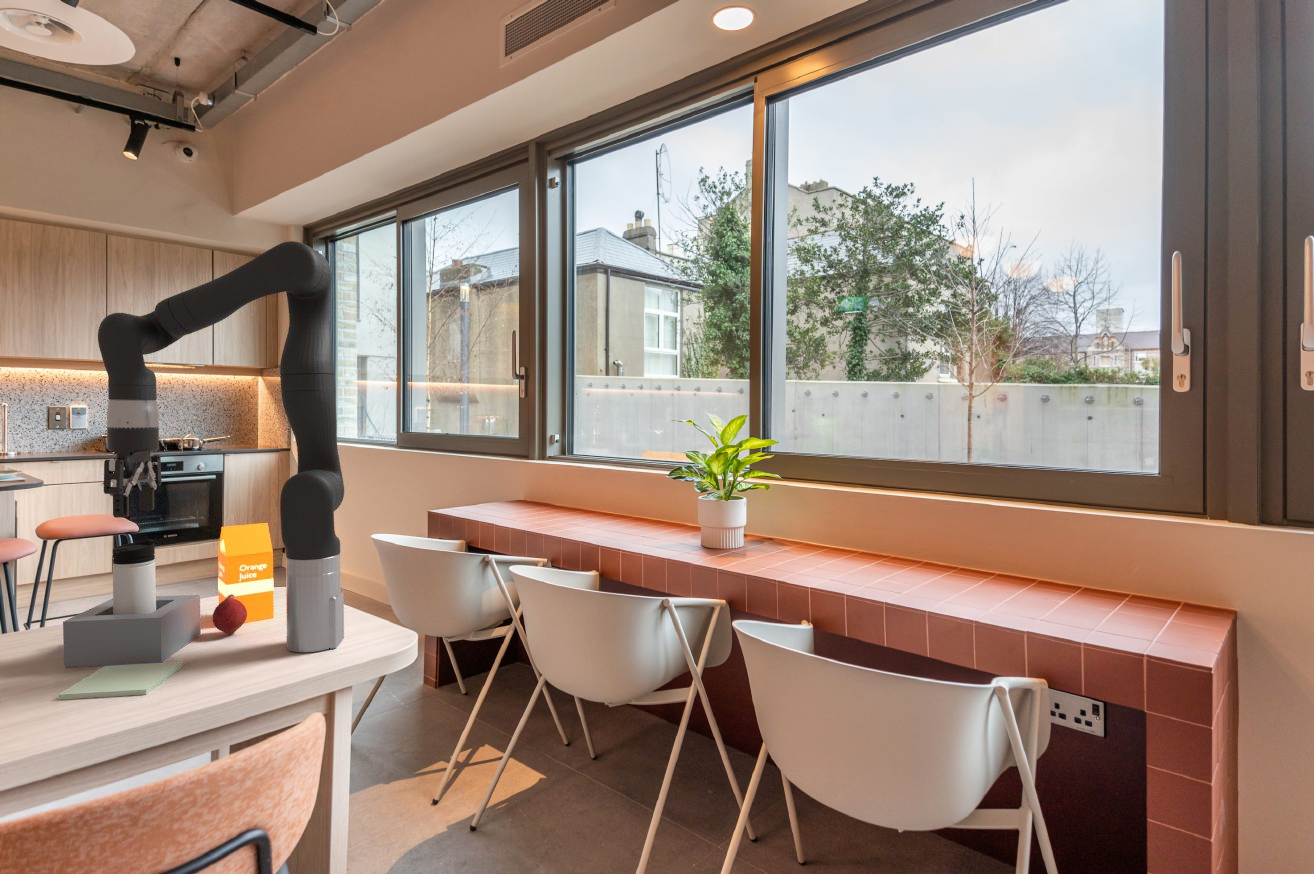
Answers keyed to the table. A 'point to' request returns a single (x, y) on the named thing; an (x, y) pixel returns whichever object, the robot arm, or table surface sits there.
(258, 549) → the orange juice
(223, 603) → the onion
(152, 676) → the mat
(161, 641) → the holder
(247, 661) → the table surface
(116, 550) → the travel mug
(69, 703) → the table surface
